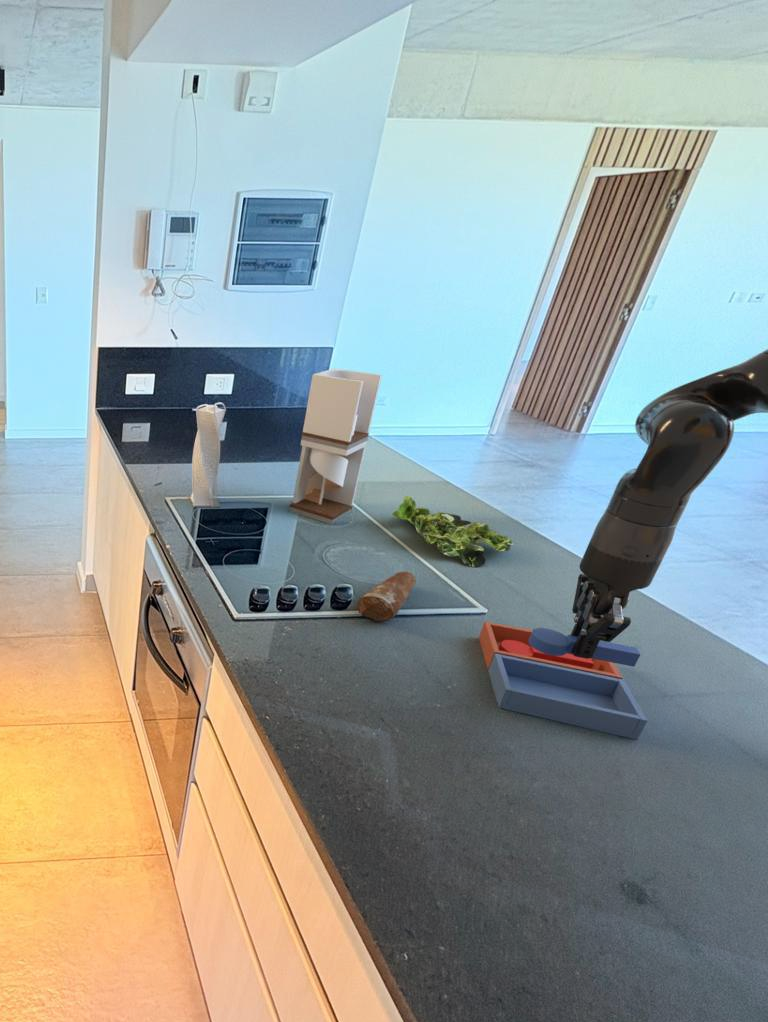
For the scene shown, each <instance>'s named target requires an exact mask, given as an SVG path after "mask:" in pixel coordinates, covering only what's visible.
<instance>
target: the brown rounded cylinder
mask: <svg viewBox="0 0 768 1022" xmlns="http://www.w3.org/2000/svg"><path fill="white" fill-rule="evenodd" d="M416 582H417V580H416V577H415V575H414V574H413V573H411V572H409V571H405V570H404V571H399V572H397V573H395V574H394V575H391V576H390V577H388V578H387V579H386V578H385V580H384V581H382V582H381V583H378V584H377V585H376V586H375V587H373V588H372V589H370V590H369V591H368V592H366V593H365V594H364V595H362V596H361V597H360V599H359V600H358V601H357V605H356V607H357V611H358V613H359V614H360V615H361V616H362V617H366V618H369V619H372V620H374V621H377V622H388V621H391V620H392V619H393V618H395V617H396V615H398V613H399V611H400V610H401V608H402V607H403V606H404V604H405V601H406V600H407V598H408V597H409V595H410V594H411V592H412V590H413V588H414V586H415V585H416Z"/></svg>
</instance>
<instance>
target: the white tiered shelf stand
mask: <svg viewBox="0 0 768 1022" xmlns="http://www.w3.org/2000/svg"><path fill="white" fill-rule="evenodd" d="M382 377H383V375H382V374H379V373H378V374H377V373H373V372H364V371H357V370H349V369H343V368H334V367H333V368H331V369H327V370H323V371H320V372H317V373H314V374H312V376H311V382H310V388H309V394H308V400H307V405H306V413H305V417H304V422H303V428H302V434H301V439H300V446H301V452H300V458H299V463H298V469H297V474H296V480H295V485H294V492H293V496H292V502H291V503H289V509H288V512H291V513H293V514H296V515H301V516H304V517H307V518H310V519H313V520H317V521H319V522H323V523H325V524H329V525H333V524H335V523H336V522H338V521H339V520H341V519H343V518H344V517H346V516H348V515H350V514H351V513H352V511H353V505H354V502H355V497H356V492H357V487H358V484H359V478H360V475H361V470H362V465H363V462H364V461H363V460H364V457H365V452H366V449H367V443H368V439H369V436H370V430H371V427H372V426H371V425H372V421H373V417H374V413H375V409H376V408H375V407H376V403H377V400H378V394H379V390H380V385H381V381H382Z"/></svg>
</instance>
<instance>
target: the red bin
mask: <svg viewBox="0 0 768 1022" xmlns="http://www.w3.org/2000/svg"><path fill="white" fill-rule="evenodd" d="M533 630H534V629H527V628H523V627H517V626H513V625H512V626H511V625H508V624H507V625H506V624H501V623H496V622H491V621H484V623H483V625H482V628H481V630H480V632H479V636H478V640H479V644H480V647H481V651H482V654H484V655H483V658H484V661H485V666H486V669H487V670H489V667H490V664H491V662H492V659H493V657H494V654H495V653H496V654H500V655H505V656H510V657H515V658H520V659H525V660H530V661H534V662H539V663H544V664H549V665H554V666H559V667H564V668H569V669H574V670H578V671H583V672H588V673H593V674H598V675H603V676H608V677H613V678H617V679H623V680H624V677H623V676H622V673H621V672H620V671H619V669H618V667H617V665H616V663H613V662H607V661H602V660H597V659H592V658H591V659H592V661H593V663H594V665H593V667H592V669H589V668H584V667H579V666H574V665H569V664H564V663H559V662H554V661H549V660H544V659H539V658H534V657H529V656H524V655H520V654H515V653H510V652H505V651H500V650H499V646H500V644H501V642H502V641H504V640H515V641H519V642H522V643H524V644H526V645H528V646H529V647H531V645H530V644H529V642H528V641H529V638H530V636H531V633H532V631H533Z"/></svg>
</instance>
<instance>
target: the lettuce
mask: <svg viewBox="0 0 768 1022" xmlns="http://www.w3.org/2000/svg"><path fill="white" fill-rule="evenodd" d="M416 504H417V503H416V501H415V500H414V499H413V498H412V497H410V496H408V495H407V496H406V495H405V496H403V502H402V503H400V505H399V507H398V509H396V510H395V511H393V512H392V516H393V517H394V518H396V519H400V520H403V521H404V522H408V523H410V524H411V525H414V527H415V529H416V532H417V533H418V534H419V535H420V536H421V537H422V538H424V541H425V542H427V544H435V542H436V543H437V544H436V546H437V550H439V552H440V553H441V554H443V555H445V556H447V557H457V556H458V557H459V559H460V560H461V562H462V564H463V565H465V566H468V567H471V568H480V567H482V566H484V565H485V564H486V563H487V562H486V557H485V556H484V553H485V552H484V551H485V549H484V547H483V546H482V545H479V543H483V544H484V545H486V546H488V547H491V548H492V549H494V551H497V552H504V551H507V552H508V551H510V549H511V546H513V545H515V542H514V541H513V540H512V539H511V538H510V537H509V536H508V535H503V534H502V533H499V532H496V531H493V530H491V528H490V526H489V524H488V523H485V522H479V521H478V522H472V521H469V520H463V519H462V518H461V516H460V515H457V514H452V513H447V512H442V511H441V510H440V511H438V512H437V513H433V512H431V511H430V509H428V508H426V507H417V505H416ZM468 525H469V526H468Z"/></svg>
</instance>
